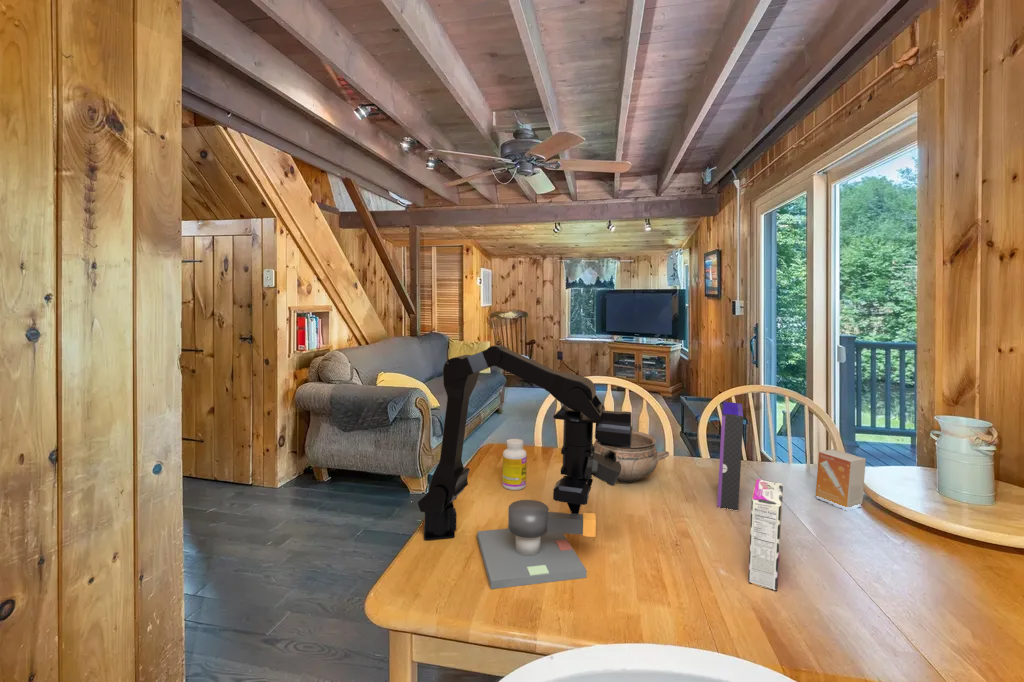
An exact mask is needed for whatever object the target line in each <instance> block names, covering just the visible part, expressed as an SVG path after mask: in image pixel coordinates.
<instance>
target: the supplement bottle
mask: <svg viewBox="0 0 1024 682" xmlns="http://www.w3.org/2000/svg"><path fill="white" fill-rule="evenodd" d="M506 447H507V448H505V449H504V450H503V451H502V487H503V488H505V489H506V490H510V491H518V490H523V489H524V488H525V487H526V486H527V457H528V456H527V451H526V450H525V449H524V440H522V439H520V438H510V439H507V440H506Z"/></svg>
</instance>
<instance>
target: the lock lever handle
mask: <svg viewBox="0 0 1024 682" xmlns="http://www.w3.org/2000/svg"><path fill="white" fill-rule="evenodd" d="M507 512H508V514H507V515H508V516H507V517H508V519H507V522H508V523H507V524H508V525H507V526H508V527H507V528H508V529H509V531H510V532H511V533H512V534H514V535H516V536H519V537H524V538H535V537H540V536H542V535H544V534H546V533H547V532H554V533H563V534H569V535H582V537H589V538H590V537H591V538H592V537H594V538H596V528H597V519H596V518H597V517H596V513H593V512H592V513H591V512H582V513H579V514H573V513H571V512H557V511H556V512H555V511H549V506H548V505H547V504H546V503H544V502H542V501H539V500H534V499H521V500H517V501H514V502H512V503H510V504H509V505H508V510H507Z"/></svg>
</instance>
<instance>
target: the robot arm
mask: <svg viewBox="0 0 1024 682" xmlns="http://www.w3.org/2000/svg"><path fill="white" fill-rule="evenodd" d="M492 367H497V368H499V369H501V370H503V371H504V372H505V371H506V372H507V373H510V374H512V375H514V376H516V377H517V378H520V379H522V380H524V381H526V382H527V383H528V382H529V383H531V384H533V385H535V386H537V387H539V388H542V389H544V390H545V391H546V392H547V393H549V394H550V395H551V396H552V397H553V398H554V399H555V400H557V402H559V403H561V404H562V406H561V408H559V410H557V411H556V412H555V414H554V415H553V419H554V420H563V429H562V430H563V431H562V432H563V434H562V435H563V438H562V439H563V440H562V447H561V450H560V455H562V466H561V468H560V475H563V477H561V478H560V479H559V480H558V481H556V482H555V485H554V487H553V492H552V499H553V500H554V501H555V502H559V503H561V502H562V503H566V504H567V506H568V509H569V511H570V513H573V514H580V511H581V510H580V509H581V506H585V505H588V502H589V497H590V492H591V488H592V484H593V477H594V478H596V479H599V480H600V481H602V482H605V483H606V484H607V485H608V486H612V487H614V486H615V485H616V483H617V482H618V481H617V479H618V477H619V474H620V472H621V464H620V462H619V461H618V462H616V453H615V452H613V451H611V450H609V451H607V452H606V453H605V454H602V453H601V454H598V453H595V446H593V445H594V443H593V432H594V439H595V440H596V439H598V442H600V444H601V445H604V446H612V447H621V448H629V449H631V442H632V431H633V426H632V422H633V421H632V419H633V418H632V412H631V411H625V410H624V411H614V410H606V407H605V406H604V404H603V403H602V401H601V399H600V398H599V397H598V395H597V391H596V386H595V384H594V382H593V380H591V379H589V378H588V377H586V376H585V377H584V376H581V375H577V374H574V373H569V372H563V371H558V370H555V369H553V368H550V367H548V366H545V365H544V364H542V363H539V362H538V361H535V360H533V359H530V358H528V357H526V356H524V355H522V354H520V353H517V352H515V351H514V350H511V349H509V348H507V347H506V346H505V345H502V344H496V345H492V346H489V347H488V348H487V349H485V350H482V351H479V352H477V353H474V354H472V355H471V354H462V355H458V356H454V357H452V358H449V359H448V360H447V361H446V362H445V363H444V365H443V367H442V378H443V379H442V380H443V382H442V383H443V388H444V391H445V393H446V407H445V416H444V423H443V431H442V432H443V433H442V441H441V447H440V448H441V449H440V456H439V462H438V463H437V466H436V467H435V470H434V472H433V474H432V476H431V480H430V484H429V486H428V492H427V493H426V494H425V495H424V496H423V497H422V498H420V499H419V501H417V505H418V508H419V511H420V513H424V515H423V517H424V521H425V522H424V521H423V523H424V524H423V539H424V541H432V540H433V541H434V540H442V539H452V538H455V536H456V535H455V531H457V510H456V507H455V506H454V501H455V500H457V498H458V496H459V495H460V494H461V493H463V491H464V489H465V488H466V487H467V486H469V482H468V476H469V473H470V468H469V467H464V465H463V461H462V457H463V450H464V442H465V441H464V439H465V433H466V426H467V418H468V411H469V403H470V397H471V395H472V392H473V391H474V389H475V387H476V385H477V382H478V380H479V376H480V372H481V371H484V370H487V369H489V368H492ZM594 424H595V429H594ZM592 476H593V477H592Z"/></svg>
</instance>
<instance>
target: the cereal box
mask: <svg viewBox="0 0 1024 682" xmlns="http://www.w3.org/2000/svg"><path fill="white" fill-rule="evenodd" d="M720 427H721V429H720V445H719V446H720V448H719V463H718V464H719V466H718V483H717V484H718V486H717V504H716V505H717V506H716V508H717V507H720V508H719V509H722V508H726V509H725V510H727V508H728V509H733V510H738V511H739V503H740V487H741V485H740V483H741V468H742V467H741V466H742V449H743V432H744V431H743V430H744V412H743V404H742V403H738V402H729V401H728V402H727V401H723V402H722V411H721V426H720ZM733 510H732V511H733Z"/></svg>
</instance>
